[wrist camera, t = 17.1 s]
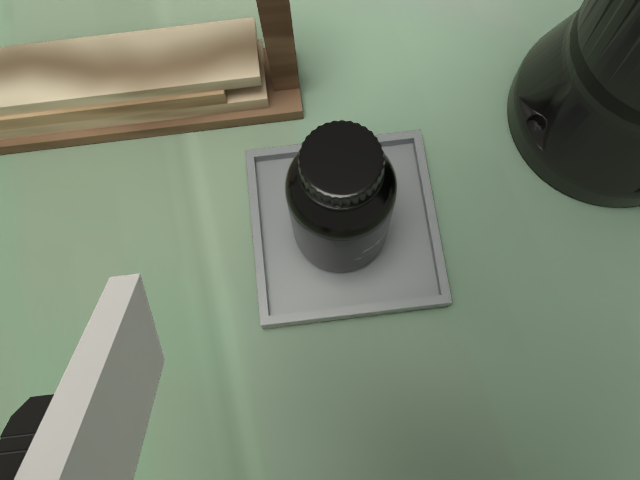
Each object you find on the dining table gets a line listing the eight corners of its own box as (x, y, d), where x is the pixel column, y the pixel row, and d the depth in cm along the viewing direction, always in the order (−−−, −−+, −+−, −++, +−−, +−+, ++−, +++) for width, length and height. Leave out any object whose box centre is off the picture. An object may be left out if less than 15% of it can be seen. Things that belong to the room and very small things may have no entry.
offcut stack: (0, 80, 49) (-29, 50, 45) (263, 48, 49) (256, 16, 45) (-3, 140, 47) (-33, 115, 43) (269, 107, 47) (263, 79, 43)
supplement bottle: (385, 277, 44) (400, 223, 32) (290, 271, 44) (271, 215, 32) (390, 187, 46) (405, 106, 34) (298, 182, 46) (283, 100, 34)
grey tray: (248, 159, 47) (245, 150, 46) (418, 138, 47) (420, 129, 46) (263, 328, 43) (260, 325, 42) (448, 306, 43) (452, 302, 42)
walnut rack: (-35, 92, 50) (-226, -79, 33) (295, 52, 50) (272, -138, 33) (-39, 159, 48) (-243, 14, 31) (303, 118, 48) (283, -48, 31)
